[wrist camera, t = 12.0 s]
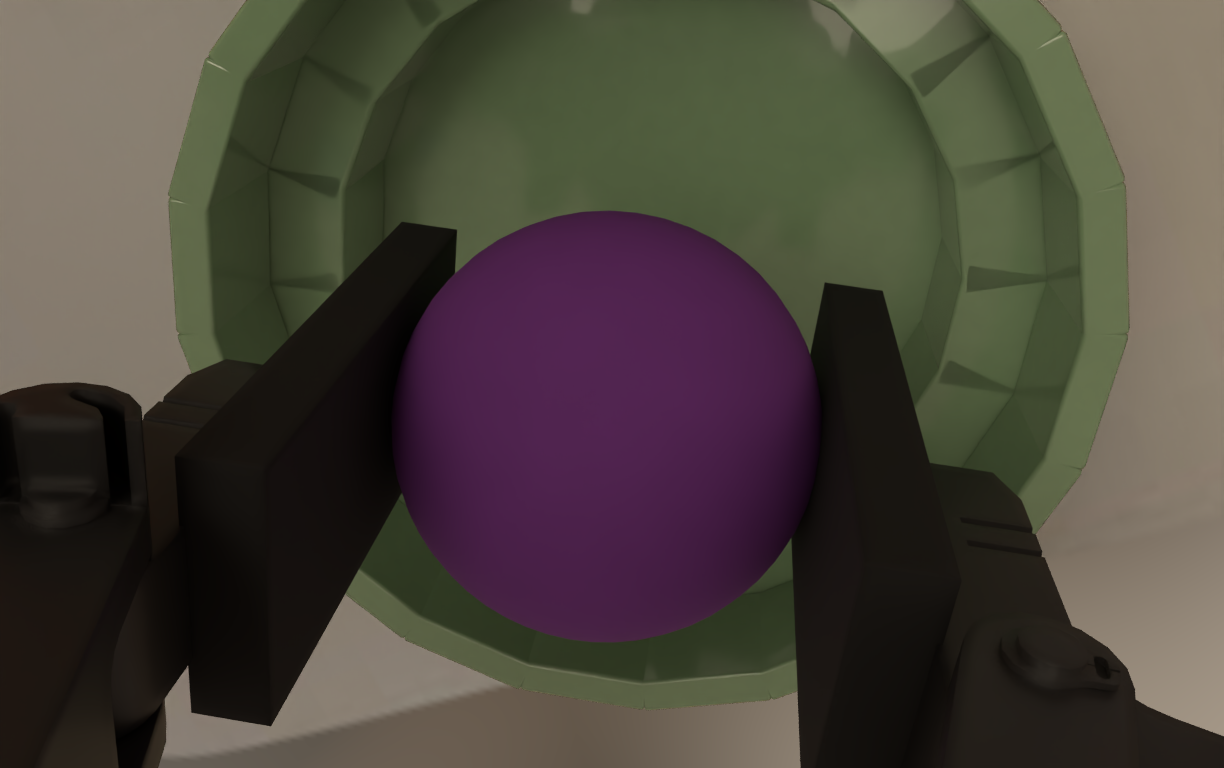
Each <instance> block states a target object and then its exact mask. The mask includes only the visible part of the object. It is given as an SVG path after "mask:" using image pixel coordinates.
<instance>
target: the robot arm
mask: <svg viewBox="0 0 1224 768" xmlns="http://www.w3.org/2000/svg"><path fill="white" fill-rule="evenodd" d="M456 244H457V229H450V228H443V227H436V226H429V225H422V224H415V223H408V222H401V223H400V224H399V225H398V226H397V227H396V228H395V229H394V230H393V231H392V232H391V233H390V234H389V235H388V236H387V237H386V238H385V239H384V241H383V242H382V243H381V244H380V245H379V246H378V247H377V248H376V249H375V250H374V251H373V252H372V253H371V254H370V255H369V256H368V257H367V258H366V259H365V260H364V261H363V262H362V263H361V264H360V265H359V266H358V267H357V268H356V269H355V270H354V271H353V272H352V274H351V275H350V276H349V277H348V278H347V279H346V280H345V281H344V282H343V283H342V284H341V285H340V286H339V287H338V288H337V289H336V290H335V291H334V292H333V293H332V294H331V295H330V296H329V297H328V298H327V299H326V300H325V301H324V302H323V303H322V304H321V306H320V307H319V308H318V309H317V310H316V311H315V312H314V313H313V314H312V315H311V316H310V317H309V318H308V319H307V320H306V321H305V322H304V323H303V324H302V325H301V326H300V327H299V328H298V329H297V330H296V331H295V332H294V333H293V334H292V335H291V336H290V337H289V339H288V340H287V341H286V342H285V343H284V344H283V345H282V346H281V347H280V348H279V349H278V350H277V351H276V352H275V353H274V354H273V355H272V356H271V357H270V358H269V359H268V360H267V361H266V362H265V363H264V364H256V363H249V362H243V361H236V360H230V359H225V360H223V361H220V362H218V363H216V364H213V365H211V366H208V367H206V368H204V369H201V370H199V371H197V372H194V373H192V374H189V375H187V376H186V377H185V378H184V379H183V380H182V381H181V382H180V383H179V384H178V385H176V386H175V387H174V388H173V389H172V390H171V391H170V392H169V393H168V394H167V395H166V396H164V400H163V402H160V401H159V402H158V403H157V404H156V405H155V406H154V407H152V408H151V409H150V410H149V411H148V412H147V413H146V414H145V415H144V419H143V420H142V411H141V406H140V405H139V404H138V403H137V402H136V401H135V400H134V399H133V398H132V397H131V396H130V395H129V394H127V393H124V392H121V391H119V390H116V389H114V388H111V387H108V386H102V385H94V384H87V383H79V382H76V383H52V384H41V385H36V386H32V387H27V388H22V389H17V390H12V391H10V392H7V393H5V394H2V395H0V768H158V766H159V763H160V760H161V756H162V753H163V750H164V747H165V743H166V713H165V701H164V699H165V697H166V696H167V694H168V693H169V692H170V690H171V689H172V687H173V686H174V684H175V683H176V682H177V680H178V679H179V677H180V676H181V674H182V673H183V672H184V670H185V669H186V667H187V666H188V668H189V683H190V698H191V713H197V714H203V715H208V716H214V717H220V718H226V719H232V720H237V721H243V722H249V723H255V724H261V725H267V726H271V725H272V724H273V722H274V720H275V718H276V716H277V715H278V713H279V711H280V709H281V708H282V706H283V704H284V702H285V700H286V699H287V697H288V695H289V693H290V691H291V690H292V688H293V686H294V684H295V683H296V681H297V679H298V677H299V675H300V674H301V672H302V670H303V668H304V667H305V665H306V663H307V661H308V659H309V658H310V656H311V654H312V652H313V650H314V649H315V647H316V645H317V643H318V642H319V640H320V638H321V636H322V634H323V633H324V631H325V629H326V627H327V625H328V624H329V622H330V620H331V618H332V617H333V615H334V613H335V611H336V609H337V608H338V606H339V604H340V602H341V600H342V599H343V597H344V595H345V593H346V592H347V590H348V588H349V586H350V584H351V583H352V581H353V579H354V577H355V575H356V574H357V572H358V570H359V568H360V567H361V565H362V563H363V561H364V559H365V558H366V556H367V554H368V552H369V550H370V549H371V547H372V545H373V543H374V542H375V540H376V538H377V536H378V534H379V533H380V531H381V529H382V527H383V525H384V524H385V522H386V520H387V518H388V517H389V515H390V513H391V511H392V509H393V508H394V506H395V504H396V502H397V500H398V499H399V497H400V495H401V493H402V491H401V488H400V485H399V482H398V479H397V475H396V469H395V464H394V459H393V449H392V426H391V413H392V403H393V394H394V389H395V385H396V381H397V377H398V373H399V369H400V365H401V361H402V357H403V354H404V352H405V349H406V347H407V344H408V342H409V340H410V337H411V335H412V333H413V331H414V329H415V327H416V325H417V324H418V322H419V320H420V319H421V317H422V315H423V314H424V312H425V310H426V309H427V307H428V306H429V304H430V302H431V301H432V299H433V298H434V297H435V295H436V294H437V293H438V292H439V291H440V289H441V288H442V287H443V286H444V285H445V283H446V282H447V281H448V280H449V279H450V278H451V277H452V276H453V275H454V274H455V263H456ZM810 356H811V359H812V363H813V366H814V369H815V372H816V377H817V381H818V387H819V393H820V399H821V405H822V429H821V443H820V452H819V458H818V464H817V470H816V476H815V481H814V485H813V489H812V492H811V496H810V499H809V502H808V505H807V508H806V510H805V512H804V514H803V517H802V519H801V521H800V523H799V525H798V527H797V529H796V532H795V533H794V535H793V536H792V538H791V544H792V568H793V592H794V616H795V641H796V665H797V689H798V713H799V736H800V737H799V738H800V762H801V768H1224V736H1221V735H1218V734H1216V733H1213V732H1210V731H1208V730H1205V729H1202V728H1199V727H1196V726H1194V725H1191V724H1189V723H1186V722H1183V721H1180V720H1178V719H1175V718H1173V717H1170V716H1168V715H1166V714H1163V713H1161V712H1158V711H1156V710H1154V709H1152V708H1149V707H1147V706H1146V705H1144V704H1142V703H1141V702H1139V701H1137V700H1135V688H1134V686H1133V683H1132V680H1131V678H1130V675H1129V672H1128V669H1127V668H1126V667H1125V666H1124V664H1123V663H1122V662H1121V661H1120V660H1119V659H1118V658H1117V657H1116V656H1115V655H1114V654H1113V652H1112V651H1110V649H1109V648H1108V647H1106V646H1105V645H1103V644H1102V643H1100V642H1098V641H1097V640H1095V639H1094V638H1093V637H1091V636H1089V635H1088V634H1086V633H1085V632H1083V631H1082V630H1080V629H1077V628H1075V627H1072V625H1071V623H1070V620H1069V618H1068V615H1067V613H1066V610H1065V608H1064V605H1063V603H1062V600H1061V598H1060V595H1059V592H1058V590H1057V587H1056V585H1055V582H1054V580H1053V578H1052V575H1051V572H1050V570H1049V567H1048V565H1047V562H1046V560H1045V558H1044V557H1042V550H1041V547H1040V545H1039V542H1038V540H1037V537H1036V535H1035V534H1033V533H1032V530H1033V527H1032V525H1031V522H1030V520H1029V517H1028V515H1027V512H1026V510H1025V507H1024V505H1023V502H1022V500H1021V499H1020V498H1019V497H1018V496H1017V495H1016V494H1015V493H1014V492H1013V491H1012V490H1011V489H1010V488H1008V487H1007V486H1006V485H1005V484H1004V483H1003V482H1002V481H1001V480H1000V479H999V478H998V477H997V476H996V475H995V474H994V473H993V472H987V471H980V470H974V469H967V468H961V467H954V466H947V465H941V464H934V463H930V462H929V459H928V455H927V451H926V448H925V444H924V440H923V437H922V433H921V429H920V426H919V422H918V418H917V415H916V411H915V407H914V403H913V400H912V396H911V392H910V389H909V385H908V381H907V378H906V374H905V370H904V367H903V363H902V359H901V356H900V352H899V348H898V345H897V341H896V337H895V334H894V330H893V326H892V323H891V319H890V315H889V312H888V308H887V304H886V301H885V297H884V293H883V291H881V290H874V289H867V288H860V287H853V286H847V285H840V284H833V283H826V282H825V284H824V289H823V293H822V298H821V303H820V308H819V313H818V318H817V323H816V328H815V333H814V338H813V343H812V348H811V353H810Z"/></svg>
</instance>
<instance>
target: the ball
mask: <svg viewBox="0 0 1224 768" xmlns="http://www.w3.org/2000/svg"><path fill="white" fill-rule="evenodd" d="M391 426H392V449H393V459H394V464H395V469H396V475H397V479H398V482H399V485H400V488H401V491H402V494H403V497H404V500H405V503H406V506H407V509H408V512H409V514H410V516H411V518H412V520H413V522H414V524H415V526H416V528H417V530H418V532H419V534H420V536H421V537H422V539H423V540H424V542H425V543H426V545H427V546H428V548H429V549H430V551H431V552H432V554H433V555H434V556H435V557H436V558H437V560H438V561H439V562H440V563H441V564H442V566H443V567H444V568H445V569H446V570H447V572H448V573H449V574H450V575H451V576H452V577H453V578H454V579H455V580H456V581H457V582H458V583H459V584H460V585H461V586H462V587H463V588H464V589H465V590H466V591H467V592H469V593H470V594H471V595H473V596H474V597H475V598H477V599H478V600H479V601H480V602H482V603H483V604H484V605H486V606H487V607H489V608H491V609H492V610H494V611H496V612H497V613H499V614H501V615H502V616H504V617H506V618H508V619H510V620H512V621H514V622H517V623H519V624H521V625H523V626H525V627H528V628H531V629H534V630H537V631H539V632H542V633H545V634H548V635H553V636H557V637H562V638H566V639H571V640H579V641H587V642H625V641H635V640H641V639H646V638H651V637H655V636H660V635H664V634H667V633H670V632H673V631H676V630H679V629H682V628H685V627H688V626H691V625H693V624H695V623H697V622H699V621H701V620H703V619H705V618H707V617H709V616H711V615H713V614H714V613H716V612H718V611H719V610H721V609H722V608H724V607H725V606H727V605H728V604H730V603H731V602H733V601H734V600H735V599H737V598H738V597H740V596H741V595H742V594H743V593H744V592H745V591H747V590H748V589H749V588H750V587H751V586H752V585H754V584H755V583H756V582H757V581H758V580H759V579H760V578H761V577H762V576H763V575H764V574H765V572H766V571H767V570H768V569H769V568H770V567H771V566H772V564H773V563H774V562H775V561H776V559H777V558H778V557H779V555H780V554H781V553H782V551H783V550H784V548H785V547H786V545H787V544H788V542H789V541H790V539H791V538H792V536H793V535H794V533H795V532H796V529H797V527H798V525H799V523H800V521H801V519H802V517H803V514H804V512H805V510H806V508H807V505H808V502H809V499H810V496H811V492H812V489H813V485H814V481H815V476H816V470H817V464H818V458H819V452H820V443H821V429H822V405H821V399H820V393H819V387H818V381H817V377H816V372H815V369H814V366H813V363H812V359H811V356H810V353H809V350H808V347H807V345H806V342H805V340H804V338H803V336H802V334H801V332H800V330H799V328H798V326H797V324H796V322H795V320H794V319H793V317H792V316H791V314H790V313H789V311H788V310H787V308H786V307H785V305H784V304H783V302H782V301H781V299H780V298H779V296H778V295H777V293H776V292H775V291H774V290H773V289H772V287H771V286H770V285H769V284H768V283H767V282H766V281H765V279H764V278H763V277H762V276H761V275H760V274H759V273H758V272H757V271H756V270H755V269H754V268H753V267H751V266H750V265H749V264H748V263H747V262H746V261H745V260H743V259H742V258H741V257H740V256H739V255H737V254H736V253H734V252H733V251H731V250H730V249H728V248H727V247H725V246H724V245H722V244H721V243H720V242H718V241H717V240H715V239H713V238H711V237H709V236H707V235H705V234H703V233H701V232H699V231H697V230H695V229H693V228H691V227H688V226H685V225H682V224H679V223H676V222H673V221H671V220H668V219H665V218H660V217H655V216H651V215H646V214H641V213H635V212H623V211H611V210H609V211H588V212H578V213H573V214H567V215H562V216H556V217H553V218H550V219H547V220H544V221H541V222H537V223H534V224H531V225H529V226H526V227H524V228H522V229H519V230H517V231H515V232H513V233H511V234H509V235H507V236H505V237H503V238H501V239H499V240H497V241H496V242H494V243H493V244H491V245H490V246H488V247H487V248H485V249H484V250H482V251H481V252H479V253H478V254H476V255H475V256H474V257H473V258H472V259H471V260H470V261H468V262H467V263H466V264H465V265H464V266H463V267H462V268H461V269H460V270H458V271H457V272H456V273H455V274H454V275H453V276H452V277H451V278H450V279H449V280H448V281H447V282H446V283H445V285H444V286H443V287H442V288H441V289H440V291H439V292H438V293H437V294H436V295H435V297H434V298H433V299H432V301H431V302H430V304H429V306H428V307H427V309H426V310H425V312H424V314H423V315H422V317H421V319H420V320H419V322H418V324H417V325H416V327H415V329H414V331H413V333H412V335H411V337H410V340H409V342H408V344H407V347H406V349H405V352H404V354H403V357H402V361H401V365H400V369H399V373H398V377H397V381H396V385H395V389H394V394H393V403H392V413H391Z"/></svg>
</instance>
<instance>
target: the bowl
mask: <svg viewBox="0 0 1224 768" xmlns="http://www.w3.org/2000/svg"><path fill="white" fill-rule="evenodd" d="M1061 29H1062V28H1061V25H1060V23H1059V22H1058V21H1057V20H1056V19H1055V18H1054V17H1053V16H1052V15H1051V14H1050V12H1049V11H1048V10H1047V9H1046V8H1045V7H1044V6H1043V5H1042V4H1041V3H1040V2H1039V0H246V1H245V3H244V4H243V5H242V7H241V8H240V10H239V11H238V13H237V14H236V15H235V17H234V18H233V20H232V21H231V22H230V24H229V25H228V27H227V28H226V29H225V31H224V32H223V34H222V35H221V36H220V38H219V39H218V41H217V42H216V43H215V45H214V46H213V48H212V49H211V51H210V52H209V57H207V58H206V59H205V61H204V65H203V69H202V72H201V76H200V80H199V83H198V87H197V90H196V94H195V98H194V101H193V105H192V109H191V112H190V116H189V120H188V123H187V127H186V131H185V134H184V138H183V142H182V145H181V149H180V152H179V156H178V160H177V163H176V167H175V171H174V174H173V178H172V182H171V185H170V189H169V193H168V196H169V197H170V198H169V218H170V234H171V250H172V266H173V282H174V298H175V314H176V330H177V332H178V333H179V334H178V339H179V342H180V344H181V347H182V349H183V352H184V355H185V357H186V360H187V362H188V365H189V368H190V370H191V373H194V372H197V371H199V370H201V369H204V368H206V367H208V366H211V365H213V364H216V363H218V362H220V361H223V360H225V359H230V360H236V361H243V362H249V363H256V364H264V363H265V362H266V361H267V360H268V359H269V358H270V357H271V356H272V355H273V354H274V353H275V352H276V351H277V350H278V349H279V348H280V347H281V346H282V345H283V344H284V343H285V342H286V341H287V340H288V339H289V337H290V336H291V335H292V334H293V333H294V332H295V331H296V330H297V329H298V328H299V327H300V326H301V325H302V324H303V323H304V322H305V321H306V320H307V319H308V318H309V317H310V316H311V315H312V314H313V313H314V312H315V311H316V310H317V309H318V308H319V307H320V306H321V304H322V303H323V302H324V301H325V300H326V299H327V298H328V297H329V296H330V295H331V294H332V293H333V292H334V291H335V290H336V289H337V288H338V287H339V286H340V285H341V284H342V283H343V282H344V281H345V280H346V279H347V278H348V277H349V276H350V275H351V274H352V272H353V271H354V270H355V269H356V268H357V267H358V266H359V265H360V264H361V263H362V262H363V261H364V260H365V259H366V258H367V257H368V256H369V255H370V254H371V253H372V252H373V251H374V250H375V249H376V248H377V247H378V246H379V245H380V244H381V243H382V242H383V241H384V239H385V238H386V237H387V236H388V235H389V234H390V233H391V232H392V231H393V230H394V229H395V228H396V227H397V226H398V225H399V224H400V223H401V222H408V223H415V224H422V225H429V226H436V227H443V228H450V229H457V244H456V263H455V273H456V272H457V271H458V270H460V269H461V268H462V267H463V266H464V265H465V264H466V263H467V262H468V261H470V260H471V259H472V258H473V257H474V256H475V255H476V254H478V253H479V252H481V251H482V250H484V249H485V248H487V247H488V246H490V245H491V244H493V243H494V242H496V241H497V240H499V239H501V238H503V237H505V236H507V235H509V234H511V233H513V232H515V231H517V230H519V229H522V228H524V227H526V226H529V225H531V224H534V223H537V222H541V221H544V220H547V219H550V218H553V217H556V216H562V215H567V214H573V213H578V212H588V211H609V210H611V211H623V212H635V213H641V214H646V215H651V216H655V217H660V218H665V219H668V220H671V221H673V222H676V223H679V224H682V225H685V226H688V227H691V228H693V229H695V230H697V231H699V232H701V233H703V234H705V235H707V236H709V237H711V238H713V239H715V240H717V241H718V242H720V243H721V244H722V245H724V246H725V247H727V248H728V249H730V250H731V251H733V252H734V253H736V254H737V255H739V256H740V257H741V258H742V259H743V260H745V261H746V262H747V263H748V264H749V265H750V266H751V267H753V268H754V269H755V270H756V271H757V272H758V273H759V274H760V275H761V276H762V277H763V278H764V279H765V281H766V282H767V283H768V284H769V285H770V286H771V287H772V289H773V290H774V291H775V292H776V293H777V295H778V296H779V298H780V299H781V301H782V302H783V304H784V305H785V307H786V308H787V310H788V311H789V313H790V314H791V316H792V317H793V319H794V320H795V322H796V324H797V326H798V328H799V330H800V332H801V334H802V336H803V338H804V340H805V342H806V345H807V347H808V350H809V353H811V348H812V343H813V338H814V333H815V328H816V323H817V318H818V313H819V308H820V303H821V298H822V293H823V289H824V284H825V282H826V283H833V284H840V285H847V286H853V287H860V288H867V289H874V290H881V291H883V293H884V297H885V301H886V304H887V308H888V312H889V315H890V319H891V323H892V326H893V330H894V334H895V337H896V341H897V345H898V348H899V352H900V356H901V359H902V363H903V367H904V370H905V374H906V378H907V381H908V385H909V389H910V392H911V396H912V400H913V403H914V407H915V411H916V415H917V418H918V422H919V426H920V429H921V433H922V437H923V440H924V444H925V448H926V451H927V455H928V459H929V462H930V463H934V464H941V465H947V466H954V467H961V468H967V469H974V470H980V471H987V472H993V473H994V474H995V475H996V476H997V477H998V478H999V479H1000V480H1001V481H1002V482H1003V483H1004V484H1005V485H1006V486H1007V487H1008V488H1010V489H1011V490H1012V491H1013V492H1014V493H1015V494H1016V495H1017V496H1018V497H1019V498H1020V499H1021V500H1022V502H1023V505H1024V507H1025V510H1026V512H1027V515H1028V517H1029V520H1030V522H1031V525H1032V527H1033V530H1032V533H1033V534H1036V533H1037V531H1038V530H1039V529H1040V528H1041V526H1042V525H1043V524H1044V522H1045V521H1046V520H1047V518H1048V517H1049V516H1050V514H1051V513H1052V512H1053V510H1054V509H1055V508H1056V506H1057V505H1058V504H1059V503H1060V501H1061V500H1062V499H1063V497H1064V496H1065V495H1066V493H1067V492H1068V491H1069V489H1070V488H1071V487H1072V485H1073V484H1074V483H1075V481H1076V480H1077V479H1078V477H1079V476H1080V475H1081V472H1082V469H1083V468H1084V467H1085V465H1086V462H1087V459H1088V456H1089V453H1090V450H1091V447H1092V444H1093V441H1094V438H1095V435H1096V432H1097V429H1098V426H1099V423H1100V420H1101V417H1102V414H1103V411H1104V408H1105V405H1106V402H1107V399H1108V396H1109V393H1110V390H1111V387H1112V384H1113V381H1114V379H1115V376H1116V373H1117V370H1118V367H1119V364H1120V361H1121V358H1122V355H1123V352H1124V349H1125V346H1126V343H1127V340H1128V335H1127V333H1128V331H1129V328H1130V327H1129V287H1128V247H1127V208H1126V186H1125V184H1124V182H1123V181H1124V174H1123V172H1122V169H1121V167H1120V164H1119V162H1118V159H1117V157H1116V155H1115V152H1114V150H1113V147H1112V145H1111V142H1110V140H1109V137H1108V135H1107V132H1106V130H1105V127H1104V125H1103V122H1102V120H1101V117H1100V115H1099V112H1098V110H1097V107H1096V105H1095V103H1094V100H1093V98H1092V95H1091V93H1090V90H1089V88H1088V85H1087V83H1086V80H1085V78H1084V75H1083V73H1082V70H1081V68H1080V65H1079V63H1078V60H1077V58H1076V55H1075V53H1074V50H1073V48H1072V46H1071V43H1070V41H1069V38H1068V36H1067V33H1065V32H1064V31H1063V30H1061ZM345 594H346V595H347V596H348V597H350V598H351V599H352V600H353V601H355V602H356V603H357V604H359V605H360V606H361V607H362V608H364V609H365V610H366V611H368V612H369V613H370V614H372V615H373V616H374V617H375V618H377V619H378V620H379V621H381V622H382V623H383V624H384V625H386V626H387V627H388V628H390V629H391V630H392V631H393V632H395V633H396V634H397V635H399V636H400V637H402V638H404V637H405V640H406V641H408V642H411V643H413V644H415V645H417V646H420V647H422V648H424V649H427V650H429V651H431V652H434V653H436V654H438V655H441V656H443V657H445V658H447V659H450V660H452V661H454V662H457V663H459V664H461V665H464V666H466V667H468V668H470V669H473V670H475V671H477V672H480V673H482V674H484V675H487V676H489V677H491V678H493V679H496V680H498V681H500V682H503V683H505V684H507V685H510V686H512V687H514V688H516V689H519V688H520V687H521V688H522V689H523V690H526V691H532V692H538V693H544V694H550V695H557V696H563V697H569V698H574V699H581V700H587V701H592V702H599V703H604V704H610V705H617V706H623V707H628V708H634V709H644V707H645V709H646V710H658V709H670V708H682V707H695V706H707V705H718V704H731V703H743V702H755V701H766V700H770V699H771V698H772V699H777V698H780V697H783V696H785V695H788V694H791V693H794V692H796V691H798V689H797V665H796V641H795V616H794V592H793V568H792V544H791V539H790V541H789V542H788V544H787V545H786V547H785V548H784V550H783V551H782V553H781V554H780V555H779V557H778V558H777V559H776V561H775V562H774V563H773V564H772V566H771V567H770V568H769V569H768V570H767V571H766V572H765V574H764V575H763V576H762V577H761V578H760V579H759V580H758V581H757V582H756V583H755V584H754V585H752V586H751V587H750V588H749V589H748V590H747V591H745V592H744V593H743V594H742V595H741V596H740V597H738V598H737V599H735V600H734V601H733V602H731V603H730V604H728V605H727V606H725V607H724V608H722V609H721V610H719V611H718V612H716V613H714V614H713V615H711V616H709V617H707V618H705V619H703V620H701V621H699V622H697V623H695V624H693V625H691V626H688V627H685V628H682V629H679V630H676V631H673V632H670V633H667V634H664V635H660V636H655V637H651V638H646V639H641V640H635V641H625V642H587V641H579V640H571V639H566V638H562V637H557V636H553V635H548V634H545V633H542V632H539V631H537V630H534V629H531V628H528V627H525V626H523V625H521V624H519V623H517V622H514V621H512V620H510V619H508V618H506V617H504V616H502V615H501V614H499V613H497V612H496V611H494V610H492V609H491V608H489V607H487V606H486V605H484V604H483V603H482V602H480V601H479V600H478V599H477V598H475V597H474V596H473V595H471V594H470V593H469V592H467V591H466V590H465V589H464V588H463V587H462V586H461V585H460V584H459V583H458V582H457V581H456V580H455V579H454V578H453V577H452V576H451V575H450V574H449V573H448V572H447V570H446V569H445V568H444V567H443V566H442V564H441V563H440V562H439V561H438V560H437V558H436V557H435V556H434V555H433V554H432V552H431V551H430V549H429V548H428V546H427V545H426V543H425V542H424V540H423V539H422V537H421V536H420V534H419V532H418V530H417V528H416V526H415V524H414V522H413V520H412V518H411V516H410V514H409V512H408V509H407V506H406V503H405V500H404V497H403V494H402V493H401V495H400V497H399V499H398V500H397V502H396V504H395V506H394V508H393V509H392V511H391V513H390V515H389V517H388V518H387V520H386V522H385V524H384V525H383V527H382V529H381V531H380V533H379V534H378V536H377V538H376V540H375V542H374V543H373V545H372V547H371V549H370V550H369V552H368V554H367V556H366V558H365V559H364V561H363V563H362V565H361V567H360V568H359V570H358V572H357V574H356V575H355V577H354V579H353V581H352V583H351V584H350V586H349V588H348V590H347V592H346V593H345Z"/></svg>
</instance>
